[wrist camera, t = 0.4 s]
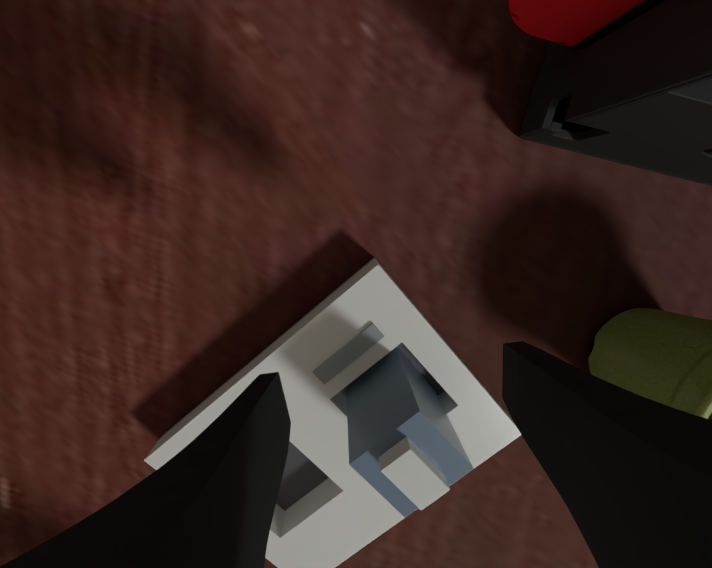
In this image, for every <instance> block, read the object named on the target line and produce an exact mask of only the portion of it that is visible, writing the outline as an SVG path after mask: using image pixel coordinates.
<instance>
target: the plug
mask: <svg viewBox="0 0 712 568" xmlns="http://www.w3.org/2000/svg"><path fill="white" fill-rule="evenodd" d="M346 396H347V422H348V449H349V465H350V466H351V467H352V468H353V469H354V470H355V471H356V472H358V473H359V474H360V475H361V476H362V477H363V478H364V479H365V480H366V481H367V482H368V483H369V484H370V485H371V486H372V487H373V488H374V489H375V490H376V491H377V492H379V493H380V494H381V495H382V496H383V497H384V498H385V499H386V500H387V501H388V502H389V503H390V504H391V505H392V506H393V507H394V508H395V509H396V510H397V511H398V512H400V513H401V514H402V515H403V516H404V517H406V516H408V515H409V514H411V513H412V512H413V511H415V510H416V509H418V508H419V509H420V510H423V509H424V508H426V507H427V506H428V505H430V504H431V503H433V502H434V501H435V500H437V499H438V498H440V497H441V496H442V495H444V494H445V493H447V492H448V491H450V488H449V486H450V485H451V484H453V483H454V482H456V481H457V480H458V479H460V478H461V477H463V476H464V475H465V474H467V473H468V472H470V471H471V470H472V469H474V468H473V466H472V464H471V462H470V460H469V458H468V456H467V454H466V452H465V450H464V448H463V446H462V444H461V442H460V440H459V438H458V436H457V434H456V432H455V430H454V428H453V426H452V424H451V422H450V420H449V418H448V416H447V414H446V412H445V410H444V408H443V406H442V404H441V402H440V400H439V398H438V396H437V394H436V391H435V389H434V387H433V386H432V385H431V384H430V383H429V382H428V380H427V379H426V378H425V377H424V376H423V375H422V374H421V373H420V372H419V370H418V369H417V368H416V367H415V366H414V365H413V364H412V363H411V361H410V360H409V359H408V358H407V357H406V356H405V355H404V354H403V353H402V351H401V350H400V349H399V348H398V347H395V348H394V349H393V350H392V351H390V352H389V353H388V354H386V355H385V356H384V357H383V358H381V359H380V360H379V361H378V362H376V363H375V364H374V365H373V366H371V367H370V368H369V369H368V370H366V371H365V372H364V373H362V374H361V375H360V376H359V377H357V378H356V379H355V380H354V381H352V382H351V383H350V384H349V385H347V386H346Z"/></svg>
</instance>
